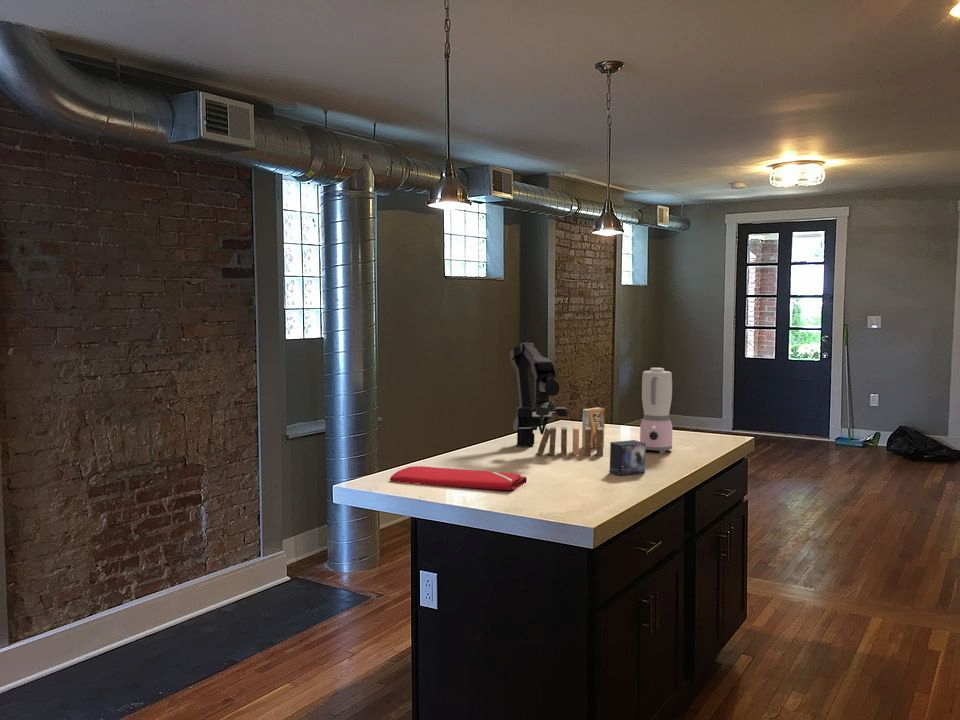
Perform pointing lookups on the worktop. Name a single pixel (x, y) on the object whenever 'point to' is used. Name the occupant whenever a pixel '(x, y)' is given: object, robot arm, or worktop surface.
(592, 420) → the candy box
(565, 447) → the domino
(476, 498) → the worktop surface
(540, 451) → the domino
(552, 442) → the domino
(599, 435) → the domino
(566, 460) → the worktop surface
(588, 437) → the domino
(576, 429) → the domino
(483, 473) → the dish drying mat
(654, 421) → the blender
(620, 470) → the small box
